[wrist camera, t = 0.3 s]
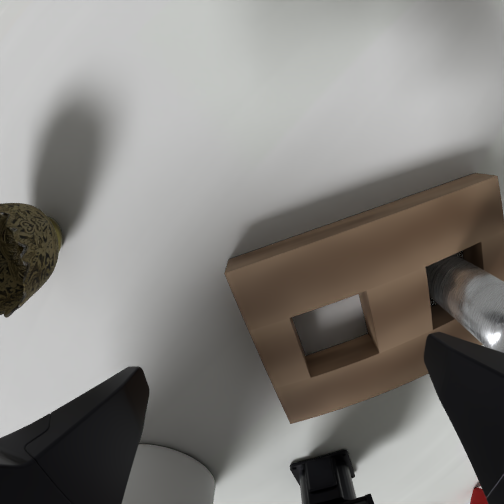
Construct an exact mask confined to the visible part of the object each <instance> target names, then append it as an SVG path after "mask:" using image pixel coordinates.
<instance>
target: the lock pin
mask: <svg viewBox="0 0 504 504" xmlns="http://www.w3.org/2000/svg"><path fill="white" fill-rule="evenodd" d="M425 268H426V274H427V281H428V289H429V296H430V297H431V298H432V299H433V300H434V301H435V302H437V303H438V304H439V305H440V306H441V307H442V308H443V309H445V310H446V311H447V312H448V313H449V314H450V315H451V316H452V317H454V318H455V319H456V320H457V321H458V322H459V323H460V324H461V325H462V326H463V327H465V328H466V329H467V330H468V331H469V332H470V333H471V334H472V335H473V336H474V337H475V338H476V339H478V340H479V341H480V342H481V343H482V344H483V345H484V346H485V347H487V348H490V349H493V350H497V351H500V352H503V353H504V282H503V281H502V280H500V279H498V278H496V277H495V276H493V275H491V274H490V273H488V272H486V271H484V270H483V269H481V268H479V267H477V266H475V265H474V264H472V263H470V262H468V261H466V260H464V259H463V258H461V257H459V256H457V255H455V254H453V255H451V256H449V257H447V258H444V259H442V260H440V261H438V262H435V263H433V264H431V265H428V266H426V267H425Z"/></svg>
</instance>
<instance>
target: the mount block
mask: <svg viewBox="0 0 504 504" xmlns="http://www.w3.org/2000/svg"><path fill="white" fill-rule="evenodd" d="M462 250H463V258H464V260H466V261H468V262H470V263H472V264H474V265H475V266H477V267H479V268H481V269H483V270H484V271H486V272H488V273H490V274H491V275H493V276H495V277H496V278H498V279H500V280H502V281H503V282H504V217H503V209H502V201H501V194H500V188H499V182H498V177H497V176H495V175H487V174H478V173H474V174H471V175H468V176H465V177H462V178H460V179H457V180H454V181H451V182H448V183H445V184H442V185H440V186H437V187H434V188H431V189H428V190H425V191H422V192H420V193H417V194H414V195H411V196H408V197H405V198H402V199H400V200H397V201H394V202H391V203H388V204H385V205H382V206H380V207H377V208H374V209H371V210H368V211H365V212H362V213H360V214H357V215H354V216H351V217H348V218H345V219H342V220H340V221H337V222H334V223H331V224H328V225H325V226H323V227H320V228H317V229H314V230H311V231H308V232H305V233H303V234H300V235H297V236H294V237H291V238H288V239H285V240H283V241H280V242H277V243H274V244H271V245H268V246H266V247H263V248H260V249H257V250H254V251H251V252H248V253H246V254H243V255H240V256H237V257H234V258H231V259H229V260H228V263H227V266H226V270H225V273H224V274H225V276H226V279H227V281H228V283H229V286H230V288H231V291H232V293H233V295H234V298H235V300H236V302H237V305H238V307H239V310H240V312H241V314H242V317H243V319H244V321H245V324H246V326H247V328H248V330H249V333H250V335H251V337H252V340H253V342H254V344H255V346H256V349H257V351H258V353H259V356H260V358H261V360H262V362H263V365H264V367H265V369H266V371H267V374H268V376H269V378H270V380H271V382H272V385H273V387H274V389H275V391H276V393H277V396H278V398H279V400H280V402H281V404H282V407H283V409H284V411H285V413H286V415H287V417H288V420H289V422H290V424H292V423H296V422H299V421H303V420H306V419H310V418H313V417H317V416H320V415H323V414H326V413H329V412H333V411H336V410H339V409H342V408H345V407H347V406H350V405H353V404H356V403H359V402H362V401H364V400H367V399H370V398H372V397H375V396H377V395H380V394H382V393H385V392H387V391H390V390H392V389H395V388H397V387H399V386H402V385H404V384H406V383H409V382H411V381H413V380H415V379H417V378H420V377H422V376H424V375H426V374H428V370H427V368H426V365H425V363H424V350H425V344H426V338H427V336H428V335H429V334H431V333H435V332H442V333H445V334H448V335H451V336H454V337H457V338H460V339H463V340H466V341H469V342H472V343H475V344H478V345H483V344H482V343H481V342H480V341H479V340H478V339H476V338H475V337H474V336H473V335H472V334H471V333H470V332H469V331H468V330H467V329H466V328H465V327H463V326H462V325H461V324H460V323H459V322H458V321H457V320H456V319H455V318H454V317H452V316H451V315H450V314H449V313H448V312H447V311H446V310H445V309H443V308H442V307H441V306H440V305H439V304H436V305H434V306H432V307H431V305H430V297H429V289H428V281H427V274H426V268H425V267H426V266H428V265H431V264H433V263H435V262H438V261H440V260H442V259H444V258H447V257H449V256H451V255H453V254H456V253H458V252H460V251H462ZM356 294H359V297H360V301H361V305H362V310H363V314H364V318H365V323H366V327H367V332H368V334H366V335H363V336H361V337H358V338H355V339H353V340H350V341H347V342H344V343H342V344H339V345H336V346H333V347H330V348H327V349H325V350H322V351H319V352H316V353H313V354H310V355H307V356H305V353H304V350H303V347H302V344H301V342H300V339H299V336H298V333H297V330H296V327H295V325H294V322H293V319H292V317H294V316H297V315H300V314H303V313H306V312H309V311H312V310H315V309H318V308H320V307H323V306H326V305H329V304H332V303H335V302H337V301H340V300H343V299H345V298H348V297H351V296H354V295H356Z"/></svg>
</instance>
